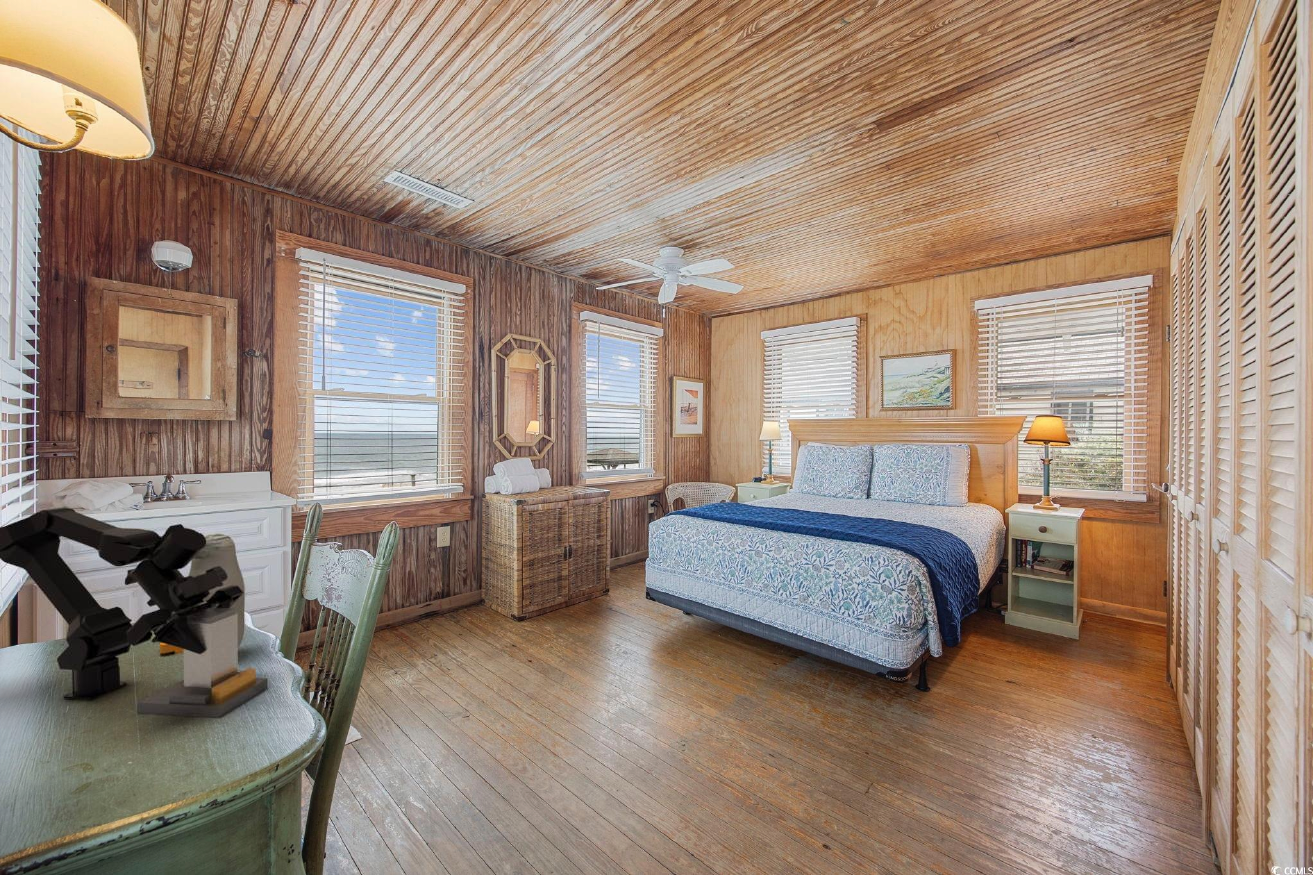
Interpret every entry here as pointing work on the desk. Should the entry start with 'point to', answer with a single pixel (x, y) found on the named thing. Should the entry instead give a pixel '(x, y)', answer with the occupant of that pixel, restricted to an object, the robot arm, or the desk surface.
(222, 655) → the block
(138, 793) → the desk surface
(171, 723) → the desk surface
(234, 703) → the grey base plate
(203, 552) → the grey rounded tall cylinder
